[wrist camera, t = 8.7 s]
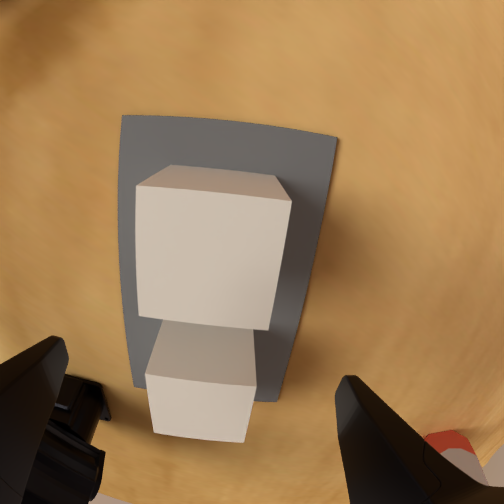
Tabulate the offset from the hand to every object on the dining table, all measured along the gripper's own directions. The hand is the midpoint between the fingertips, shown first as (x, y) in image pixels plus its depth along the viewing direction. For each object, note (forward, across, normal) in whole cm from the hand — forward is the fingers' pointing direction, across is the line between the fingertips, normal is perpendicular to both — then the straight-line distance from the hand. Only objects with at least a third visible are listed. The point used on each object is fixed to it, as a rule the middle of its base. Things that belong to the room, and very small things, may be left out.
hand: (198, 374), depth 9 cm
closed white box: (+13, 0, 0) cm, 13 cm away
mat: (+13, 0, +5) cm, 14 cm away
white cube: (+13, 0, +11) cm, 17 cm away
